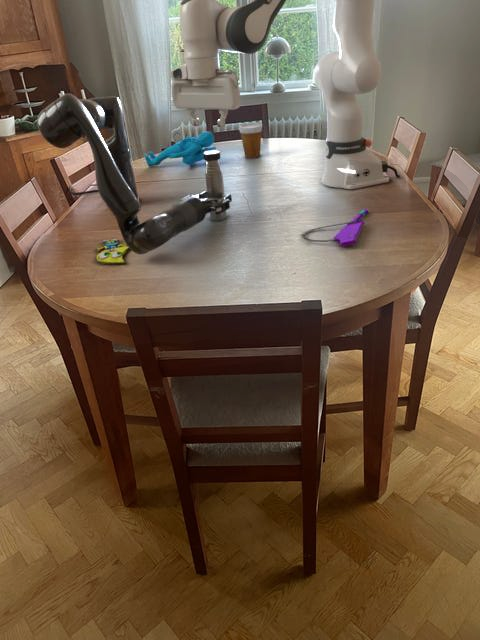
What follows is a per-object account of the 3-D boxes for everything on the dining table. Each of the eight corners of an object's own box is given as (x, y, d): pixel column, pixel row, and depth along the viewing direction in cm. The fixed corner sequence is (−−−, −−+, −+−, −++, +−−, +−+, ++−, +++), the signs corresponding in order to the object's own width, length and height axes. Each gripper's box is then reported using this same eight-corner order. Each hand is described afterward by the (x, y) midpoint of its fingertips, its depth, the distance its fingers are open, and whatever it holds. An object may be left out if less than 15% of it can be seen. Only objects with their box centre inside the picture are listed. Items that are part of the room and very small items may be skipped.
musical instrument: (305, 254, 121) (386, 239, 118) (304, 246, 120) (385, 231, 117) (298, 224, 142) (366, 211, 139) (297, 217, 141) (366, 204, 138)
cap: (223, 159, 135) (222, 152, 134) (207, 162, 133) (206, 155, 132) (216, 155, 138) (216, 149, 137) (201, 158, 137) (200, 152, 136)
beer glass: (264, 157, 198) (262, 127, 191) (241, 159, 198) (238, 129, 192) (263, 152, 206) (261, 122, 199) (241, 153, 206) (239, 124, 200)
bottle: (229, 218, 144) (223, 153, 134) (214, 221, 143) (206, 157, 132) (222, 213, 148) (216, 150, 138) (207, 217, 146) (200, 153, 136)
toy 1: (135, 237, 135) (125, 260, 122) (135, 240, 135) (125, 263, 123) (99, 239, 135) (85, 263, 122) (100, 242, 135) (86, 266, 123)
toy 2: (152, 145, 206) (216, 125, 196) (162, 169, 211) (224, 150, 201) (137, 155, 193) (205, 134, 182) (148, 181, 198) (214, 162, 187)
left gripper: (205, 204, 126) (237, 185, 137) (163, 198, 133) (197, 181, 144) (208, 231, 130) (239, 210, 141) (167, 224, 137) (200, 205, 148)
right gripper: (243, 67, 121) (247, 125, 128) (179, 69, 131) (186, 122, 138) (229, 70, 116) (234, 130, 124) (164, 72, 126) (173, 127, 134)
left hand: (218, 195), depth 143 cm, fingers open, 8 cm apart
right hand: (208, 126), depth 131 cm, fingers open, 7 cm apart
